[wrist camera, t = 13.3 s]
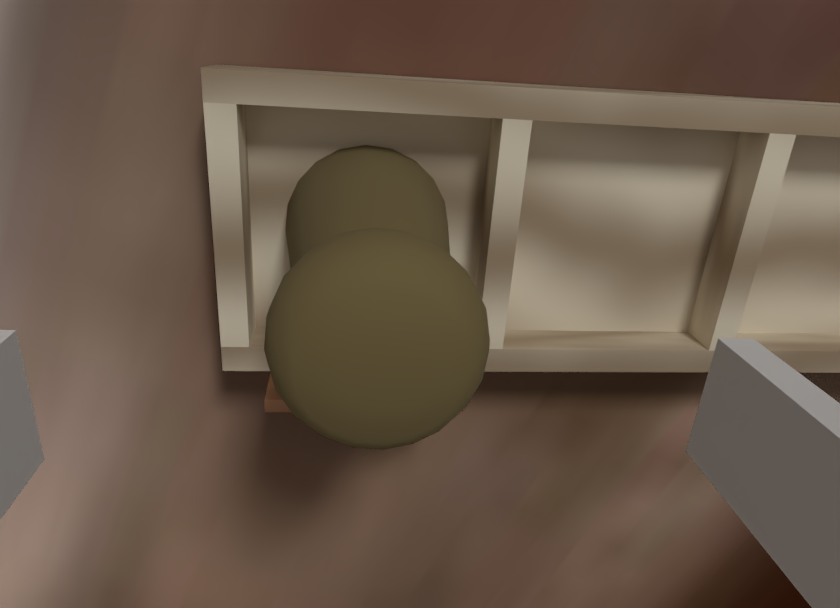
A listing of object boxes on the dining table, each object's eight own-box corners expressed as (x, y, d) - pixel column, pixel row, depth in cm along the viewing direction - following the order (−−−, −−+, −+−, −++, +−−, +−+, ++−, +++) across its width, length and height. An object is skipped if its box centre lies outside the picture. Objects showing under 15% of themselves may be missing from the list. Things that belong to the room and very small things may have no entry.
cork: (470, 173, 22) (569, 284, 12) (419, 318, 24) (466, 512, 14) (308, 121, 21) (270, 198, 11) (268, 279, 23) (206, 463, 13)
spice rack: (216, 64, 21) (184, 70, 17) (980, 111, 24) (1108, 127, 20) (235, 351, 25) (212, 412, 21) (881, 355, 29) (970, 408, 25)
